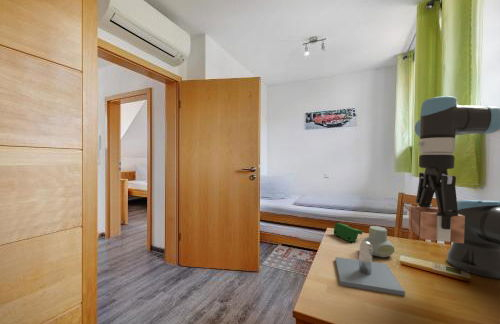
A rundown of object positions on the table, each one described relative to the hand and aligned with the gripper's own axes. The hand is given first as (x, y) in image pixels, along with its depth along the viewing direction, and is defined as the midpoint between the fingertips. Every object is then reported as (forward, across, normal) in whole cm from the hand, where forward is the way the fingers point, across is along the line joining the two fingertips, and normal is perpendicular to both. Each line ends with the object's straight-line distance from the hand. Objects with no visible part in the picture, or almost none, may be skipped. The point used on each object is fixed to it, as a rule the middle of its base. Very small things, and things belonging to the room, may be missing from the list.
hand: (433, 234), depth 62 cm
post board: (+16, -2, -16) cm, 23 cm away
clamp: (+16, -36, -17) cm, 43 cm away
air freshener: (+16, -21, -8) cm, 28 cm away
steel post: (+14, -2, -17) cm, 22 cm away
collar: (0, 0, 0) cm, 0 cm away
